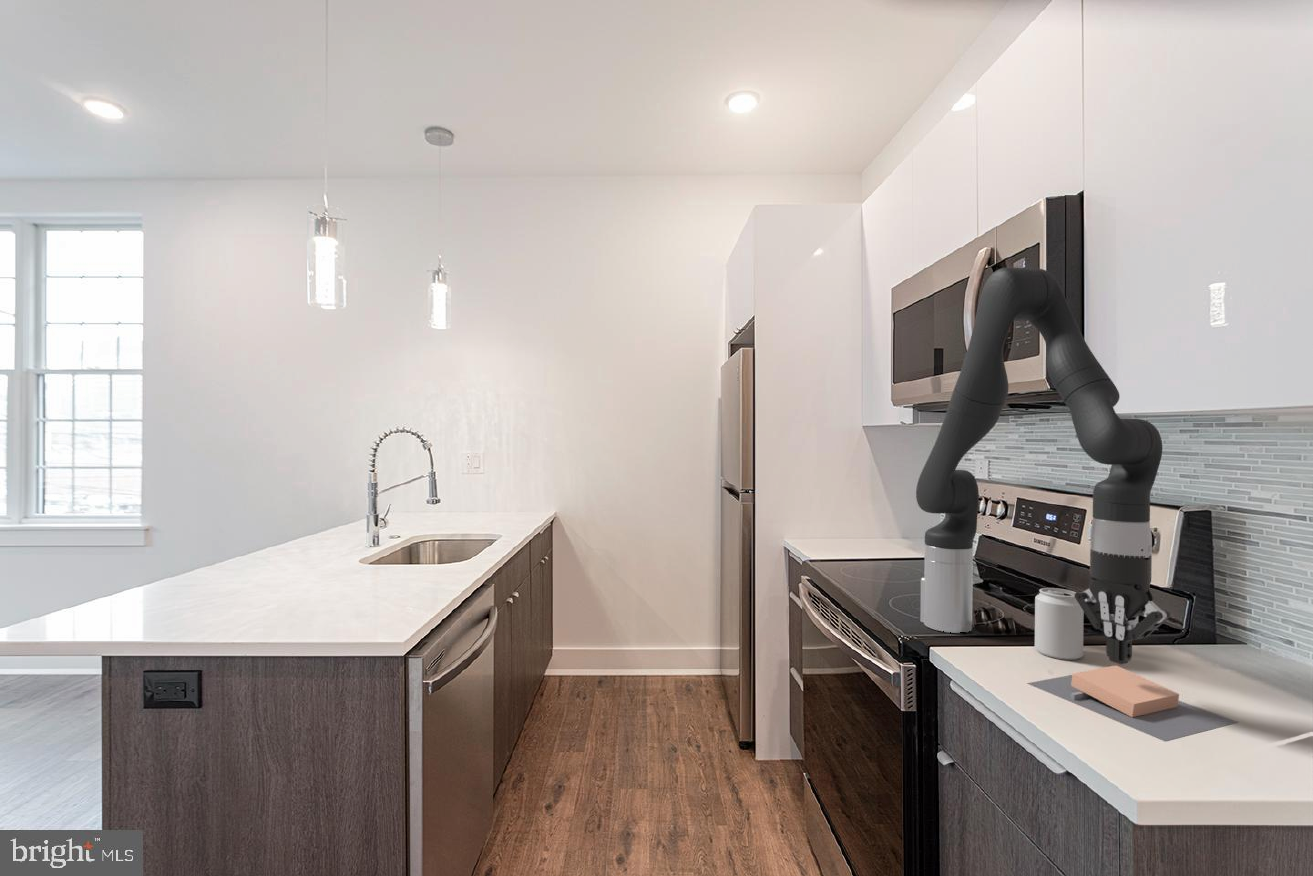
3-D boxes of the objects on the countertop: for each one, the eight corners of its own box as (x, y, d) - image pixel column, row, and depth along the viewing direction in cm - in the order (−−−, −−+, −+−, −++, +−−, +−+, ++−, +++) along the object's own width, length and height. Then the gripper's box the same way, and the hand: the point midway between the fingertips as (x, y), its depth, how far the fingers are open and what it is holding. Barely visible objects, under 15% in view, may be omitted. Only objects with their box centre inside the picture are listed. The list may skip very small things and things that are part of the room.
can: (1091, 664, 110) (1091, 597, 109) (1044, 661, 111) (1045, 594, 111) (1071, 650, 117) (1072, 587, 117) (1028, 647, 118) (1028, 584, 118)
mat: (1026, 685, 100) (1027, 678, 100) (1094, 672, 106) (1094, 665, 106) (1165, 744, 81) (1165, 735, 81) (1238, 724, 87) (1238, 716, 87)
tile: (1072, 673, 96) (1134, 704, 88) (1116, 665, 100) (1179, 694, 91) (1070, 686, 96) (1132, 718, 88) (1114, 678, 100) (1177, 707, 92)
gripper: (1061, 543, 99) (1059, 650, 99) (1151, 559, 87) (1150, 682, 87) (1093, 540, 102) (1092, 645, 102) (1185, 555, 89) (1184, 675, 90)
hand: (1118, 662), depth 94 cm, fingers closed
